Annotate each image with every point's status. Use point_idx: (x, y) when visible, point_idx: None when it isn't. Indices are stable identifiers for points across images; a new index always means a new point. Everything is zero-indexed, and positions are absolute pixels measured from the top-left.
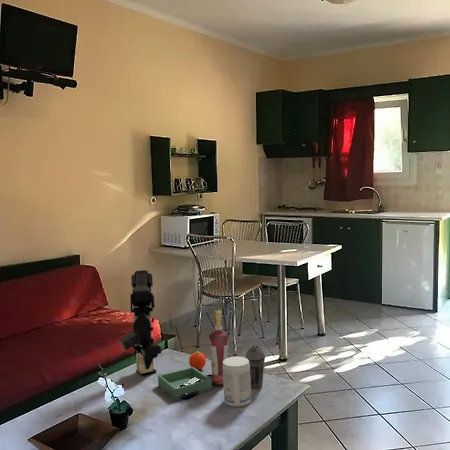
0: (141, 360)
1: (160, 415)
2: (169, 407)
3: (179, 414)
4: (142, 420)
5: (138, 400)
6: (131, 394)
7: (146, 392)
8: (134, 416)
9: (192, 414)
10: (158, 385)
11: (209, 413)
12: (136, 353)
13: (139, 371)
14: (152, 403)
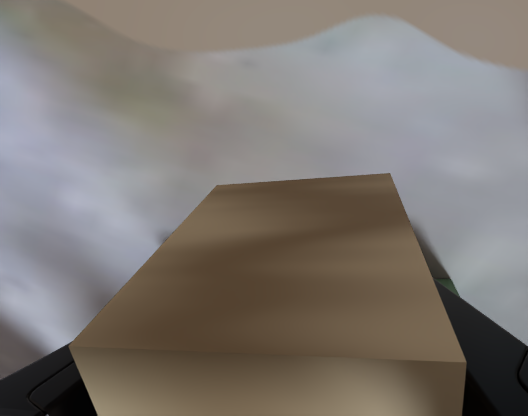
0: (124, 305)
1: (57, 161)
2: (132, 230)
3: (50, 243)
4: (18, 51)
5: (294, 96)
6: (427, 71)
7: (394, 181)
8: (75, 13)
9: (40, 288)
10: (449, 279)
11: (37, 340)
12: (463, 377)
13: (278, 184)
14: (212, 167)
